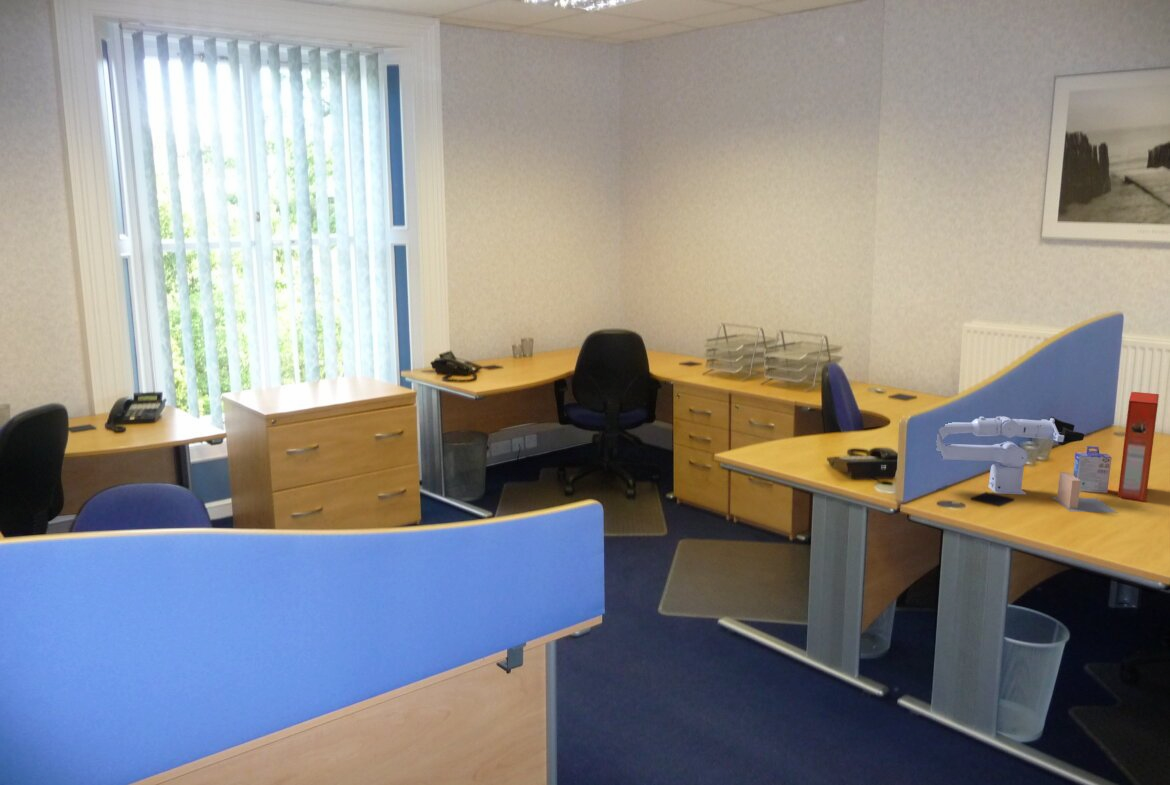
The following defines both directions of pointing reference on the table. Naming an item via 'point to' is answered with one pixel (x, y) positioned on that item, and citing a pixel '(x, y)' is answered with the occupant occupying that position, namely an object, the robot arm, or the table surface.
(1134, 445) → the file binder
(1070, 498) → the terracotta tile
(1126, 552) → the table surface
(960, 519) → the table surface
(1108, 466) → the ink cartridge box
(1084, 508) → the desk mat
